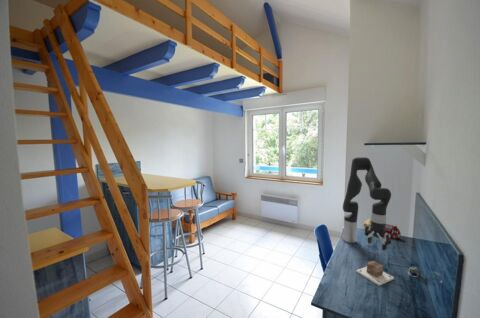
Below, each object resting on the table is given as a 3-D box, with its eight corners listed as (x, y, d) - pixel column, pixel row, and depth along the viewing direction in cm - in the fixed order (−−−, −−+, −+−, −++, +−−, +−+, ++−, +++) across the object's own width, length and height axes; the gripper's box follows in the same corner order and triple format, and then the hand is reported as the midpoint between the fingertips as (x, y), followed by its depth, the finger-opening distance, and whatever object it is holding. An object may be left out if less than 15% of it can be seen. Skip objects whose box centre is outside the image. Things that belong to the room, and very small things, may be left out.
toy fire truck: (399, 240, 176) (400, 228, 175) (382, 235, 184) (382, 224, 184) (400, 237, 181) (401, 226, 180) (383, 233, 189) (384, 222, 189)
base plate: (356, 271, 132) (356, 267, 132) (370, 266, 138) (371, 261, 138) (379, 285, 120) (379, 280, 120) (393, 279, 126) (394, 274, 125)
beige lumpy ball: (361, 231, 193) (362, 220, 192) (363, 227, 202) (364, 216, 201) (374, 234, 187) (375, 222, 186) (375, 230, 196) (376, 219, 195)
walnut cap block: (366, 272, 131) (367, 262, 130) (372, 269, 133) (373, 260, 133) (376, 277, 125) (376, 268, 125) (382, 275, 128) (383, 265, 127)
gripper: (363, 217, 131) (361, 242, 133) (387, 226, 119) (385, 253, 120) (370, 216, 135) (369, 240, 136) (394, 224, 122) (393, 250, 123)
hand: (376, 246), depth 128 cm, fingers open, 8 cm apart
